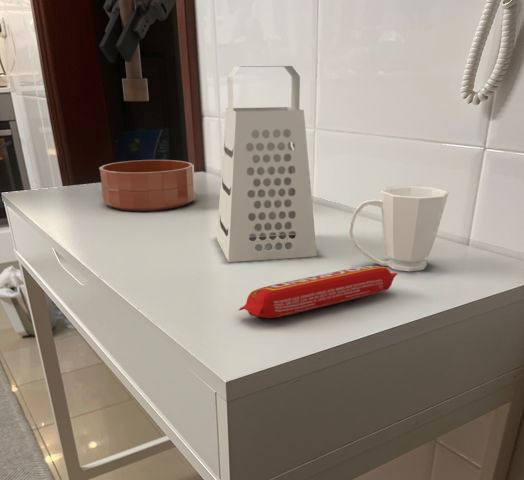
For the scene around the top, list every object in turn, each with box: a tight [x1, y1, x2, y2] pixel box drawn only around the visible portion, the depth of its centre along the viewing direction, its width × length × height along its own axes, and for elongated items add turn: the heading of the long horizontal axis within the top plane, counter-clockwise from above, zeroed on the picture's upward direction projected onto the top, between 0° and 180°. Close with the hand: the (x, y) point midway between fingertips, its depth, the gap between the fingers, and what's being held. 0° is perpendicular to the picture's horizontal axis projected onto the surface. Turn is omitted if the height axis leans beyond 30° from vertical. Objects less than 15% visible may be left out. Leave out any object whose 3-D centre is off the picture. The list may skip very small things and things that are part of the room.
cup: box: [348, 185, 449, 272], centre depth 60 cm, size 7×10×8 cm
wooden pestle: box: [119, 0, 150, 102], centre depth 80 cm, size 4×4×17 cm
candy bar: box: [238, 265, 398, 319], centre depth 51 cm, size 16×4×3 cm, turn 121°
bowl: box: [98, 159, 196, 212], centre depth 93 cm, size 15×15×6 cm
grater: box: [216, 65, 318, 263], centre depth 65 cm, size 10×10×20 cm
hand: (114, 54), depth 78 cm, fingers closed on wooden pestle, 2 cm apart
